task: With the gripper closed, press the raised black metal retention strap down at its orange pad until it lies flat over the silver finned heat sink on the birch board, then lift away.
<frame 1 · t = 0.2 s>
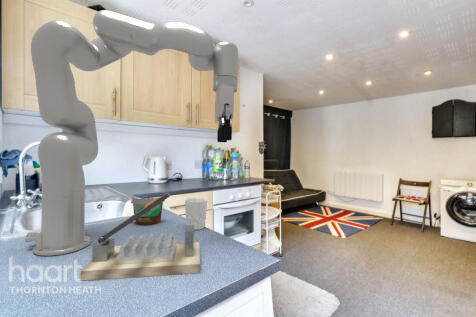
hand: (224, 141, 71), 31 cm above the countertop, tool pointing down, fingers open, 9 cm apart
white cup: (195, 227, 84), on the countertop
strap: (135, 215, 55), point 11 cm above the countertop, hinge at 35.0°
board: (148, 262, 55), on the countertop
food container: (147, 224, 87), on the countertop
heat sink: (147, 242, 55), on the board, point 5 cm above the countertop
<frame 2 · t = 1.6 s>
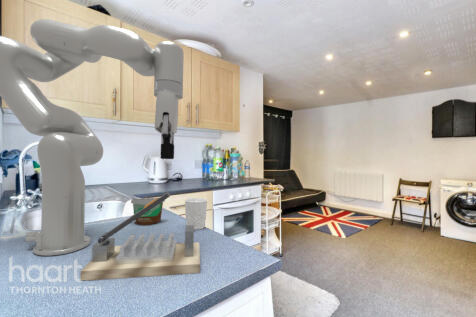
hand: (167, 158, 63), 25 cm above the countertop, tool pointing down, fingers closed
nothing on the countertop moved.
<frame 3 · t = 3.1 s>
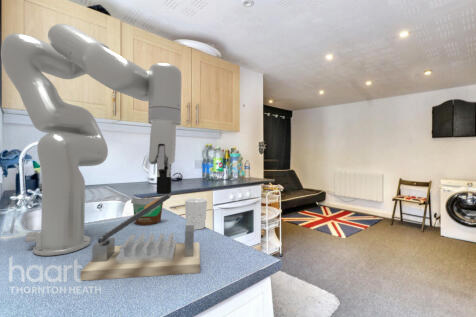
hand: (163, 193, 56), 17 cm above the countertop, tool pointing down, fingers closed
strap: (136, 216, 55), point 11 cm above the countertop, hinge at 34.1°, touching gripper
everything else where it was.
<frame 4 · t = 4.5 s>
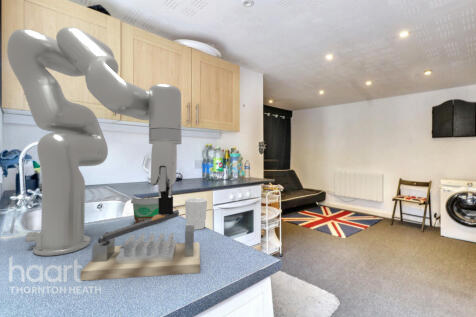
hand: (166, 213, 56), 12 cm above the countertop, tool pointing down, fingers closed
strap: (140, 224, 55), point 9 cm above the countertop, hinge at 18.0°, touching gripper
everything else where it was.
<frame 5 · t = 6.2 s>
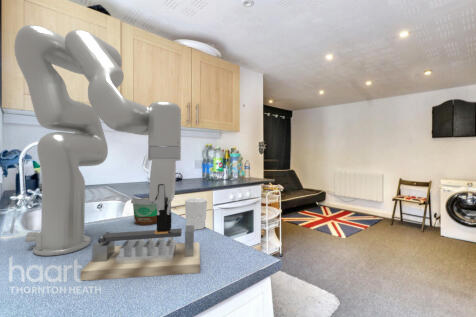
hand: (164, 230, 56), 8 cm above the countertop, tool pointing down, fingers closed
strap: (142, 234, 55), point 7 cm above the countertop, hinge at 1.9°, touching gripper
everything else where it was.
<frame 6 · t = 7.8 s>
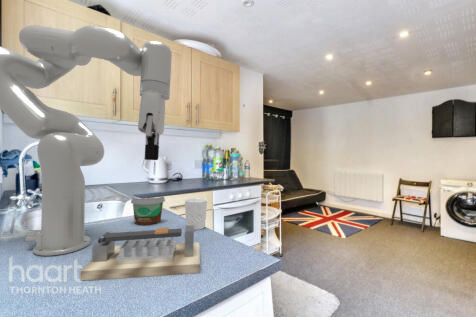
hand: (151, 159, 62), 25 cm above the countertop, tool pointing down, fingers closed
strap: (142, 234, 55), point 7 cm above the countertop, hinge at 1.9°
everything else where it was.
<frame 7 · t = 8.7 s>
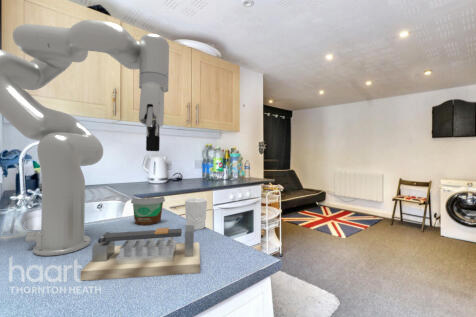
hand: (152, 150, 63), 27 cm above the countertop, tool pointing down, fingers closed
nothing on the countertop moved.
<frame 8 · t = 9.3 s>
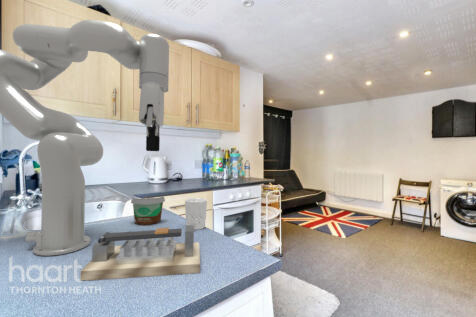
hand: (152, 150, 63), 27 cm above the countertop, tool pointing down, fingers closed
nothing on the countertop moved.
at the end: strap at +2° (first picture: +35°) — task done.
